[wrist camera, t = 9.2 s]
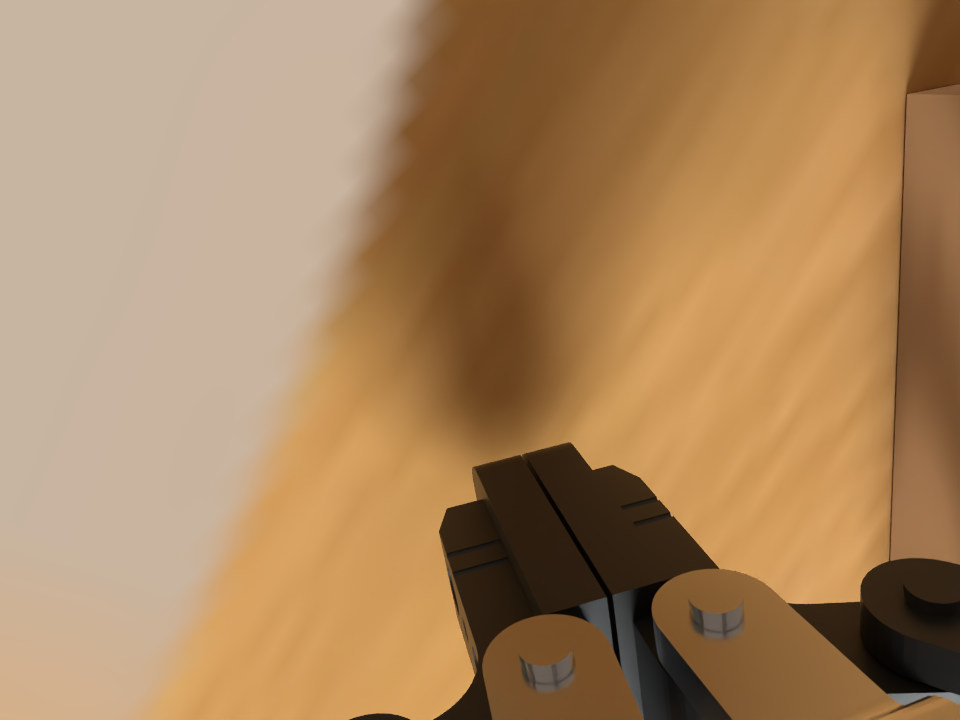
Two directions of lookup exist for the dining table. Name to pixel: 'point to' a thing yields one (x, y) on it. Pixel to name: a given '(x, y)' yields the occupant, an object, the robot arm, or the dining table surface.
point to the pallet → (929, 335)
